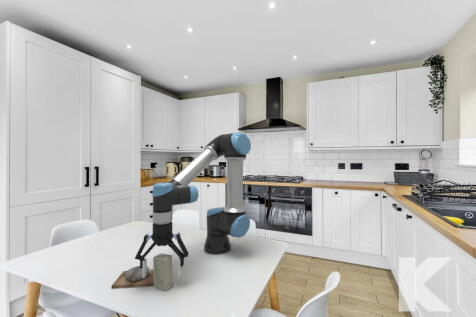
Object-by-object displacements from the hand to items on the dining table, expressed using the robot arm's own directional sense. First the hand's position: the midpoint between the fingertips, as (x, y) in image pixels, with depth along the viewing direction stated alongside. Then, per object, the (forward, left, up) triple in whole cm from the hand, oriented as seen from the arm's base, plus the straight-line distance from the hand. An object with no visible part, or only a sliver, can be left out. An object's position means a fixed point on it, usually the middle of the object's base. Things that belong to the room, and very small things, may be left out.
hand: (162, 275), depth 90 cm
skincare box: (0, 0, -5) cm, 5 cm away
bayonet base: (+12, -7, -5) cm, 15 cm away
